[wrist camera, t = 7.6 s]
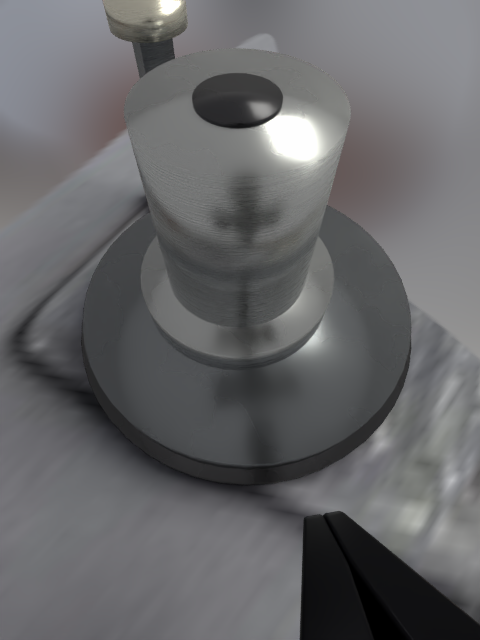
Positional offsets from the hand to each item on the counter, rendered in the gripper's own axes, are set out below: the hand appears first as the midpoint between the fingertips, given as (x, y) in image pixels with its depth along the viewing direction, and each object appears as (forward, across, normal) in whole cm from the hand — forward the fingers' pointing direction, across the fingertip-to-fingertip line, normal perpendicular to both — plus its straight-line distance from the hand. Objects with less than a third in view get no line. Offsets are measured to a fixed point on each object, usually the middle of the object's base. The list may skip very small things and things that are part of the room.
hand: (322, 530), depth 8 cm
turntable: (+11, 0, -2) cm, 12 cm away
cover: (+10, 0, -4) cm, 11 cm away
